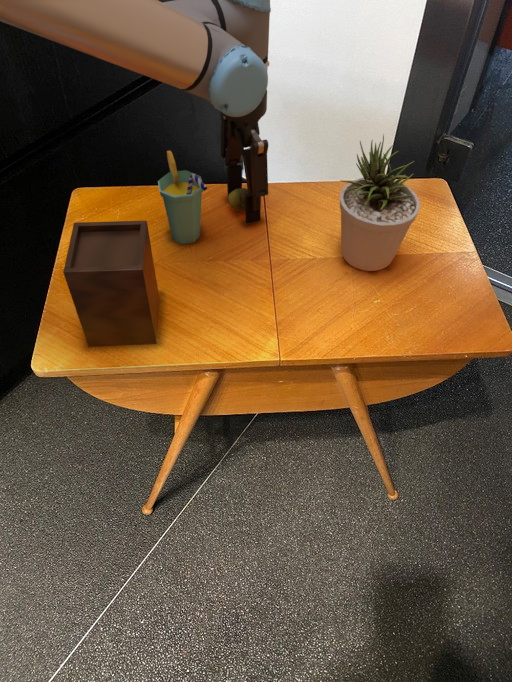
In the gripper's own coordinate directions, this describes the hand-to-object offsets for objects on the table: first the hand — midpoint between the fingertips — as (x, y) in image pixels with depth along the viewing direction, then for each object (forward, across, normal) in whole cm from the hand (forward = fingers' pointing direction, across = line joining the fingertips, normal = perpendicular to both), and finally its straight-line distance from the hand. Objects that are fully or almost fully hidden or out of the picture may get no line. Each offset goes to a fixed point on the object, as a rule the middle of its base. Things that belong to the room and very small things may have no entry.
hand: (243, 208), depth 102 cm
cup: (0, -3, +12) cm, 13 cm away
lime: (0, 0, 0) cm, 1 cm away
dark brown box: (0, -17, +28) cm, 33 cm away
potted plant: (+1, -20, -15) cm, 25 cm away
